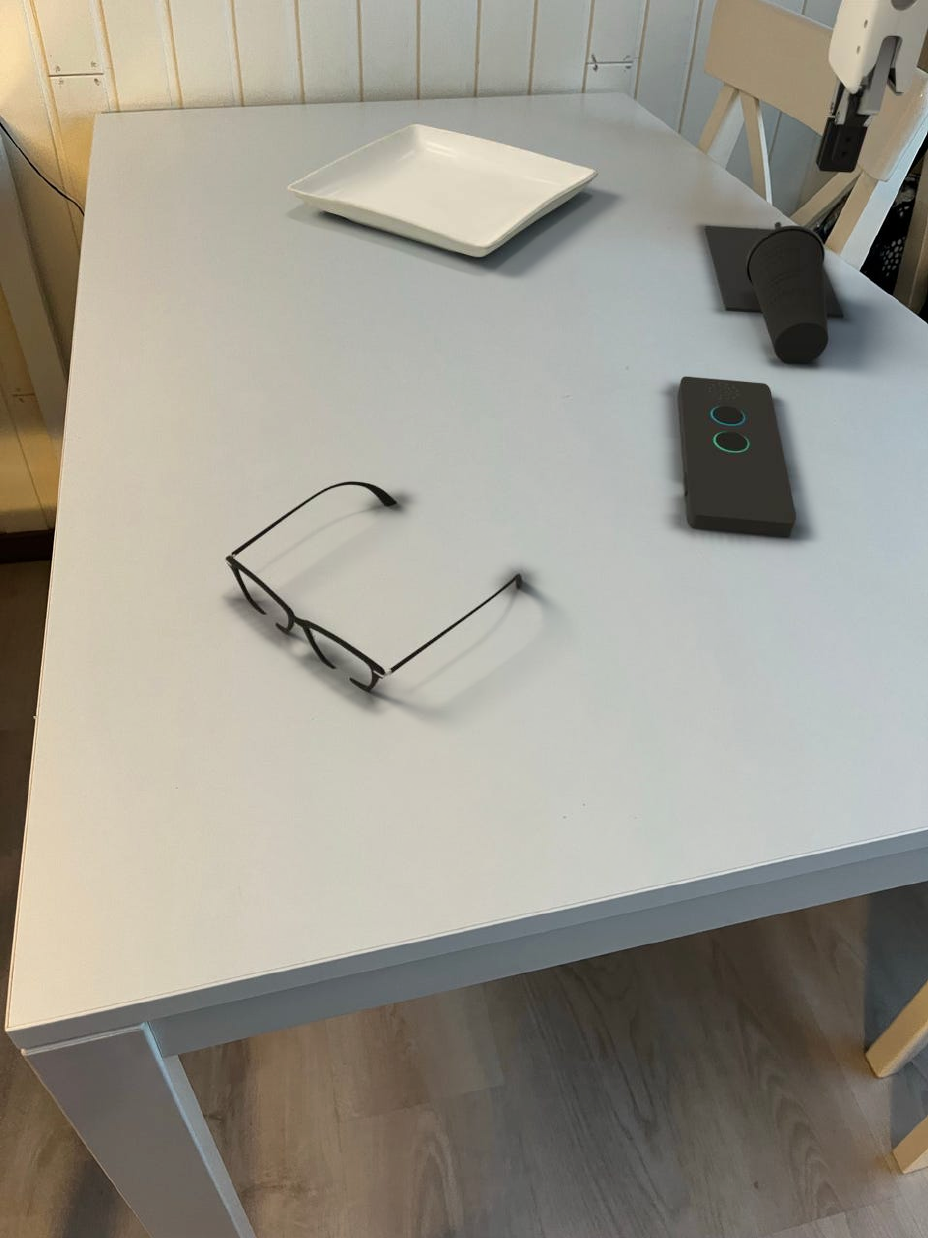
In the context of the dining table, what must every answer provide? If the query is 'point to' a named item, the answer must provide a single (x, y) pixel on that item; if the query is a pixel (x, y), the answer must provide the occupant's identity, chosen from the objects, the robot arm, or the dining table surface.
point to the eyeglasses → (306, 625)
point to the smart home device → (733, 458)
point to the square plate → (443, 188)
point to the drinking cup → (791, 291)
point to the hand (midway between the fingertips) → (834, 168)
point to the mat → (731, 269)
